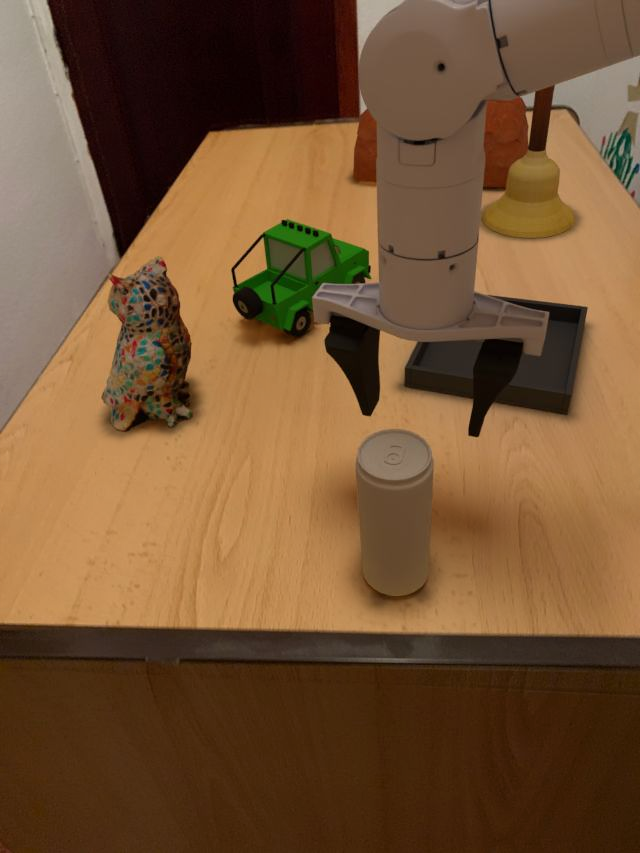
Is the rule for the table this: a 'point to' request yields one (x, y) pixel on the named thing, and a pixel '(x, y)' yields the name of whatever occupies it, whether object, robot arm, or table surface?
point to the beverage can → (395, 510)
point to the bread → (500, 145)
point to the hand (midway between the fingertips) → (422, 417)
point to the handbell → (532, 186)
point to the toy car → (296, 275)
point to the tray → (536, 376)
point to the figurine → (148, 350)
